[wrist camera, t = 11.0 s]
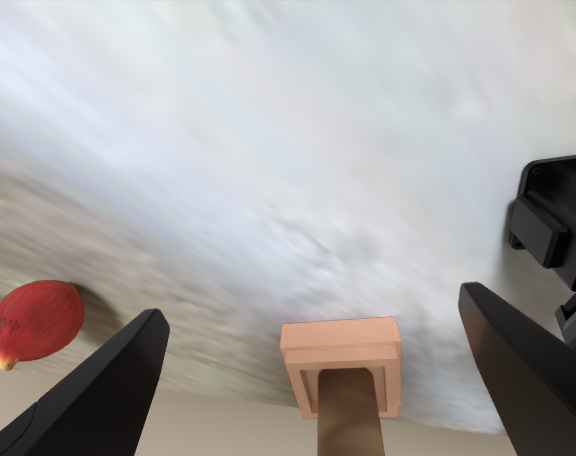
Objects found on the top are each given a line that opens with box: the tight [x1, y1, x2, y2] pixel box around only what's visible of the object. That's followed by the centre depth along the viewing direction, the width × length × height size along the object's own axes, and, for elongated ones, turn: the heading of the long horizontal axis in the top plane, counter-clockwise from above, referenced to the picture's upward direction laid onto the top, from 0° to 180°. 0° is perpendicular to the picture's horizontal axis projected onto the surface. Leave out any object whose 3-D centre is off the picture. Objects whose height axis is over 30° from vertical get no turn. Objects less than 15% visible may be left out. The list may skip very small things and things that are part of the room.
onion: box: [0, 280, 84, 371], centre depth 26 cm, size 6×6×8 cm
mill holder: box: [280, 317, 401, 419], centre depth 30 cm, size 10×10×4 cm
